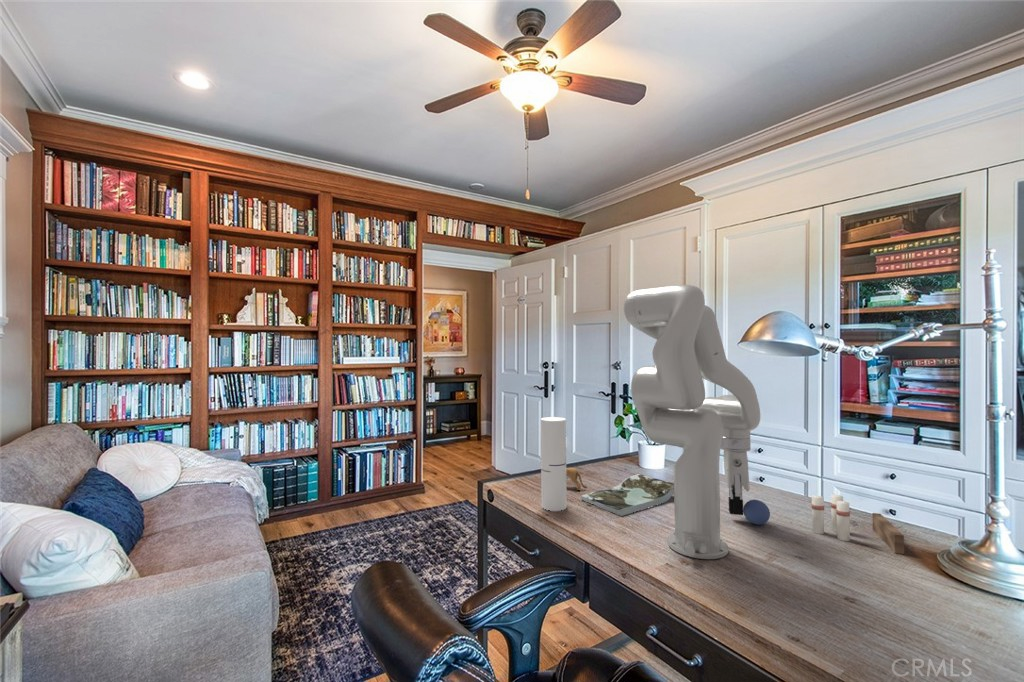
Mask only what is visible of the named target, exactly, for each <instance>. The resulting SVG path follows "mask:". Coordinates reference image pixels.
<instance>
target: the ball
mask: <svg viewBox="0 0 1024 682" xmlns="http://www.w3.org/2000/svg"><path fill="white" fill-rule="evenodd" d="M770 511H771V510H770V509H769V507H768V505H767V504H766V503H764V502H763V501H761V500H759V499H750V500H748V501H747V502H745V504H743V516H744V517H745V519H746V520H747V521H748V522H750V523H751V524H753V525H757V526H760V525H764V524H766V523H767V522H768V521H769V520H770V517H771V512H770Z"/></svg>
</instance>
